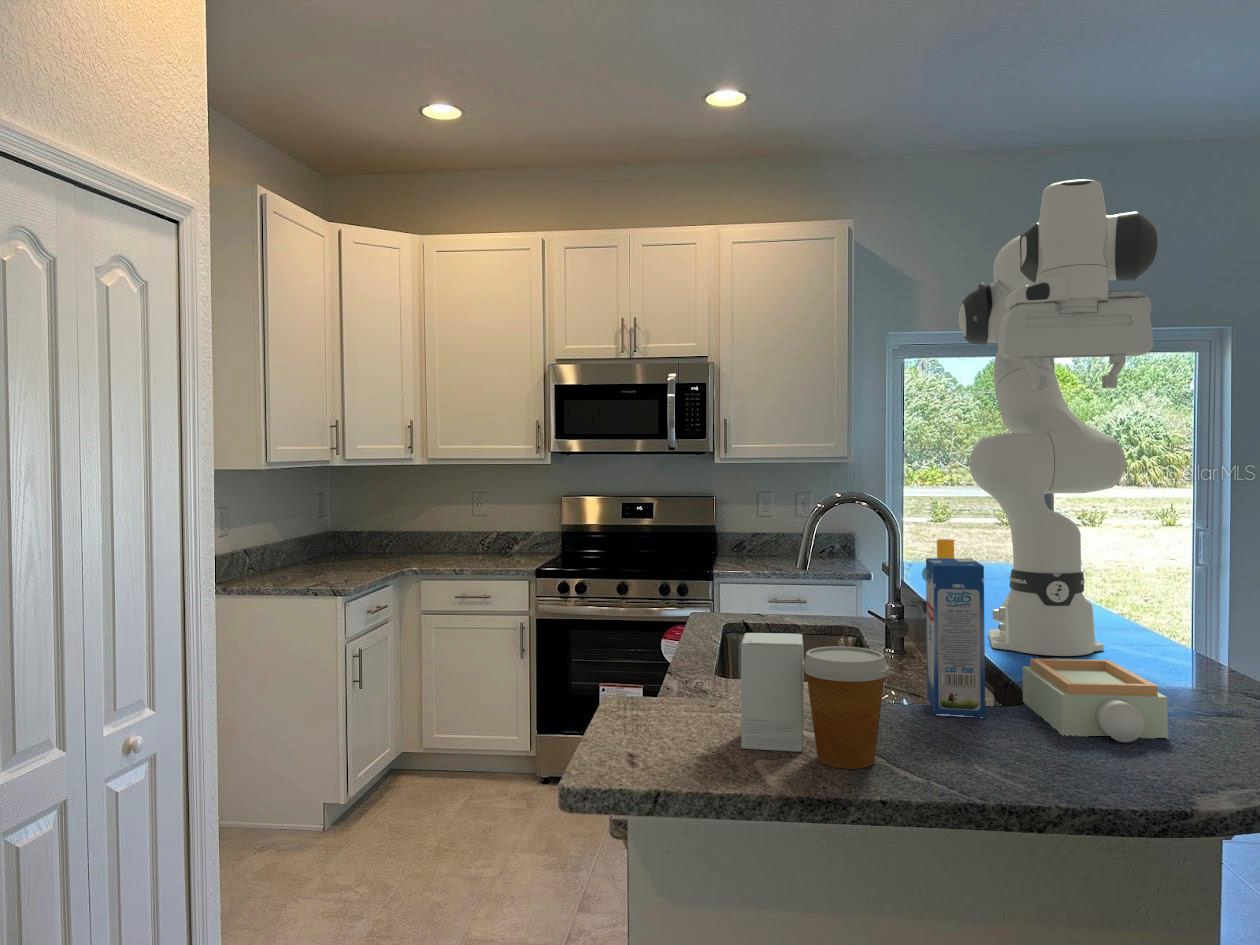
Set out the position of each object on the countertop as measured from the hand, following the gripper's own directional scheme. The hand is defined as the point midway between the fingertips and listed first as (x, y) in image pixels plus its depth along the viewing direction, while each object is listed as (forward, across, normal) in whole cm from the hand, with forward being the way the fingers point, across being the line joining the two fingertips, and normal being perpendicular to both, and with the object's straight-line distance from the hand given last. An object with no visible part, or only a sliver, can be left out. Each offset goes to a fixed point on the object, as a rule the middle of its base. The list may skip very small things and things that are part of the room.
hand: (1074, 388), depth 127 cm
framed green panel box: (+44, +3, +13) cm, 46 cm away
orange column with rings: (+43, -2, -95) cm, 104 cm away
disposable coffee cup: (+45, +36, +31) cm, 65 cm away
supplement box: (+45, +44, +25) cm, 68 cm away
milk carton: (+44, +19, +8) cm, 49 cm away
